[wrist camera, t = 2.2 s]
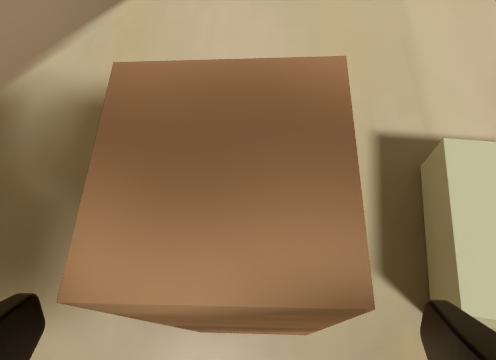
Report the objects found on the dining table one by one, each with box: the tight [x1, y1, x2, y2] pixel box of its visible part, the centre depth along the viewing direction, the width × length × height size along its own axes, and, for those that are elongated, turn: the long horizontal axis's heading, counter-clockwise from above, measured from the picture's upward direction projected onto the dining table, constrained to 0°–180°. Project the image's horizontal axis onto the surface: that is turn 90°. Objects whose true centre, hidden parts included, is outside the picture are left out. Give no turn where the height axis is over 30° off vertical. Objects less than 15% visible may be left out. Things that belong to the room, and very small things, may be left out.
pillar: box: [57, 56, 375, 335], centre depth 12 cm, size 5×5×12 cm
